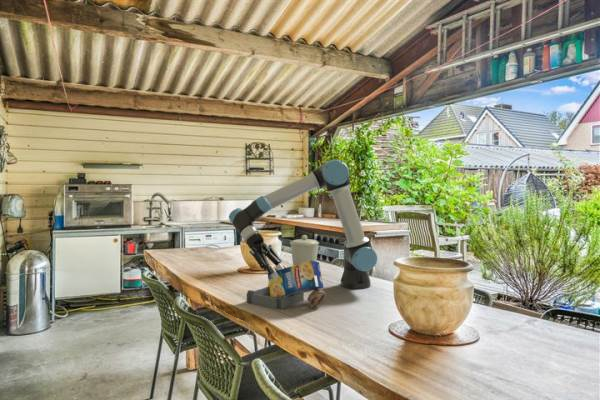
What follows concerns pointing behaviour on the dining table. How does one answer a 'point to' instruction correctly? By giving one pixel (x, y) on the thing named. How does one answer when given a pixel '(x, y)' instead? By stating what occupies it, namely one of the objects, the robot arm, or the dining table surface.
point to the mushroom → (316, 297)
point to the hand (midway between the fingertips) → (282, 277)
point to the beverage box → (296, 280)
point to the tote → (272, 299)
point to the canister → (304, 250)
